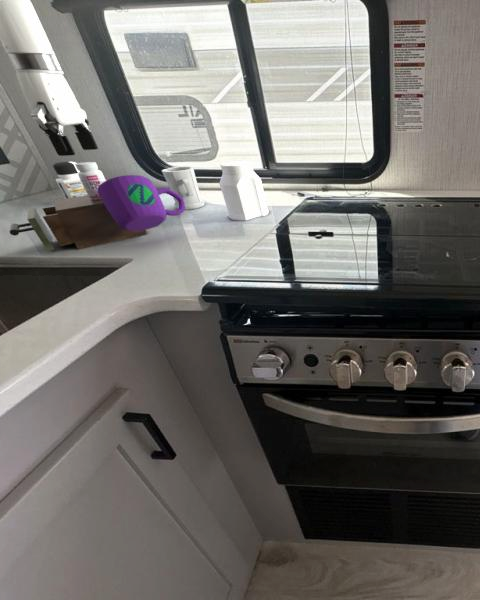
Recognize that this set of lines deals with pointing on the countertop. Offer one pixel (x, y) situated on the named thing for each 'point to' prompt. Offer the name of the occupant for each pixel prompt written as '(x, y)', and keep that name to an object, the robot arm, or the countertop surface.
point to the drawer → (41, 229)
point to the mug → (136, 202)
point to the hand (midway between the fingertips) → (79, 152)
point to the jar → (242, 191)
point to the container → (69, 180)
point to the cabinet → (90, 222)
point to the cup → (184, 186)
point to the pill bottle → (90, 178)
